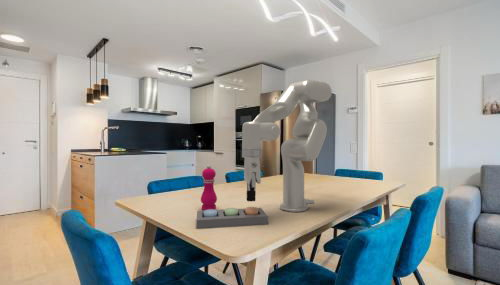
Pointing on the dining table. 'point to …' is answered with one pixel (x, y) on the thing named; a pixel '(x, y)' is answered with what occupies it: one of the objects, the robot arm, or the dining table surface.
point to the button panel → (231, 219)
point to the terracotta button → (251, 210)
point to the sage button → (231, 212)
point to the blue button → (210, 213)
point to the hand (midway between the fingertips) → (250, 200)
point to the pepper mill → (208, 189)
